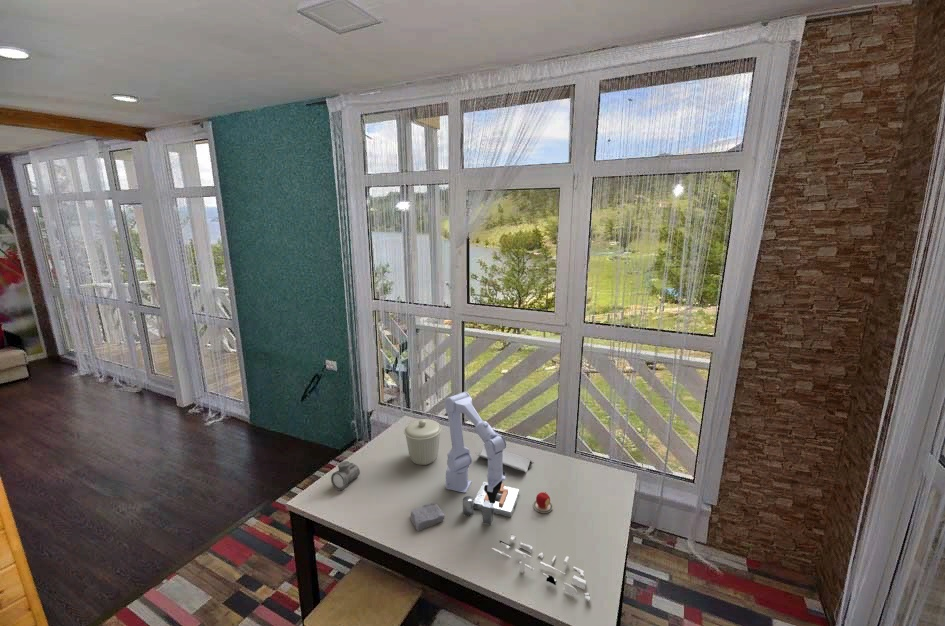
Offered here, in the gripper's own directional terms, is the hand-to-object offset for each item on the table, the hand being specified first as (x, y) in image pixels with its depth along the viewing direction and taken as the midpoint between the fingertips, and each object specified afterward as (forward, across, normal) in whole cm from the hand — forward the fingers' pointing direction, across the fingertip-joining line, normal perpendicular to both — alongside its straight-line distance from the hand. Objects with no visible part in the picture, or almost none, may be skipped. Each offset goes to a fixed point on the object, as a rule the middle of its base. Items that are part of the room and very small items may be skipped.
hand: (494, 495), depth 160 cm
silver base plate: (+10, +9, +2) cm, 14 cm away
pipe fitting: (+10, 0, +69) cm, 70 cm away
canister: (+10, +27, +44) cm, 52 cm away
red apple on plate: (+10, +12, -17) cm, 23 cm away
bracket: (+7, +10, +2) cm, 13 cm away
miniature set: (+11, -17, -22) cm, 30 cm away
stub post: (+10, -1, +11) cm, 15 cm away
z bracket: (+10, +36, +5) cm, 38 cm away
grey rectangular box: (+10, -3, +2) cm, 11 cm away
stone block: (+10, -9, +26) cm, 29 cm away
